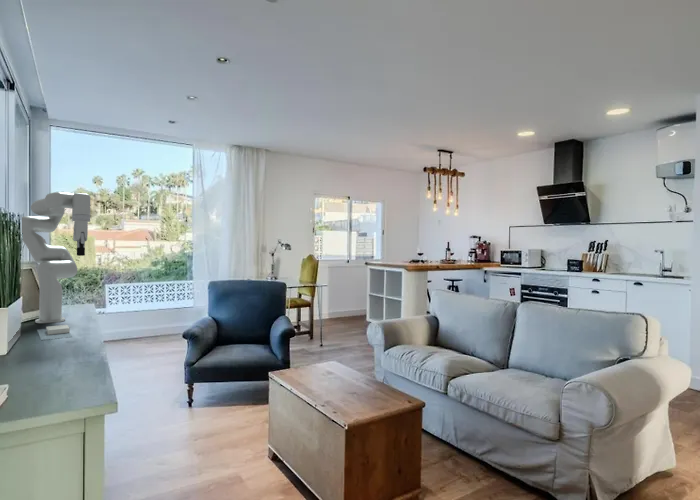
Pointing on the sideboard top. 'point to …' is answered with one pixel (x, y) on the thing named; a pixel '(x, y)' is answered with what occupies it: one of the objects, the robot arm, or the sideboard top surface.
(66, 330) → the picture frame
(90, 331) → the sideboard top surface
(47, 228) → the robot arm
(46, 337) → the mat
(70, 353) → the sideboard top surface
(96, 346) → the sideboard top surface
